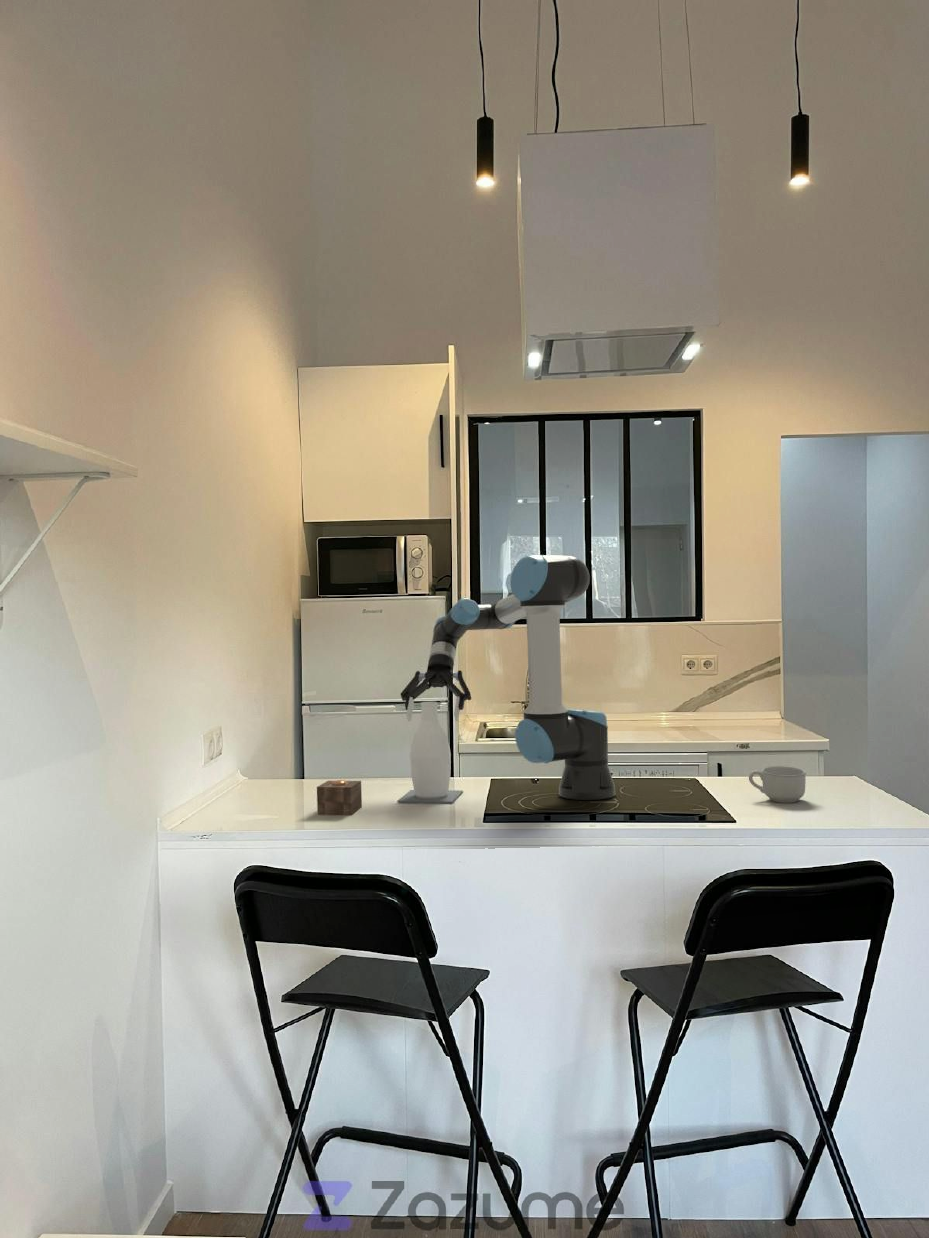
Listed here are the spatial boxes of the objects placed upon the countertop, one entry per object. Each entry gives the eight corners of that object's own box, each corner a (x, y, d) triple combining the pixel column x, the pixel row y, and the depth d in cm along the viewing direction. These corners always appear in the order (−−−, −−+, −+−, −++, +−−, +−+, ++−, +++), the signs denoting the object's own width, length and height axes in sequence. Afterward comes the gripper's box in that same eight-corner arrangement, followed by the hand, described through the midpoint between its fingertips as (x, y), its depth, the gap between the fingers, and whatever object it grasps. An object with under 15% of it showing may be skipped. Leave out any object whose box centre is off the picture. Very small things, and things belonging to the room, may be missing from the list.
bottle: (402, 797, 260) (400, 703, 259) (427, 790, 269) (425, 699, 269) (435, 801, 253) (433, 705, 253) (459, 793, 262) (457, 701, 262)
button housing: (361, 807, 251) (361, 780, 251) (351, 814, 242) (350, 787, 242) (329, 806, 253) (328, 780, 252) (317, 814, 244) (316, 786, 244)
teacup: (808, 797, 248) (807, 766, 248) (804, 806, 238) (803, 774, 238) (753, 794, 254) (752, 764, 254) (746, 802, 244) (746, 771, 244)
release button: (350, 801, 249) (349, 780, 249) (345, 805, 245) (344, 783, 245) (334, 801, 250) (333, 779, 250) (328, 804, 245) (328, 783, 245)
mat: (463, 792, 267) (463, 790, 267) (452, 803, 252) (452, 801, 252) (410, 792, 270) (410, 789, 270) (397, 803, 255) (397, 800, 255)
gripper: (485, 668, 282) (478, 725, 268) (402, 670, 287) (391, 726, 272) (481, 651, 277) (474, 709, 263) (397, 653, 282) (386, 709, 267)
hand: (432, 718), depth 267 cm, fingers open, 13 cm apart
